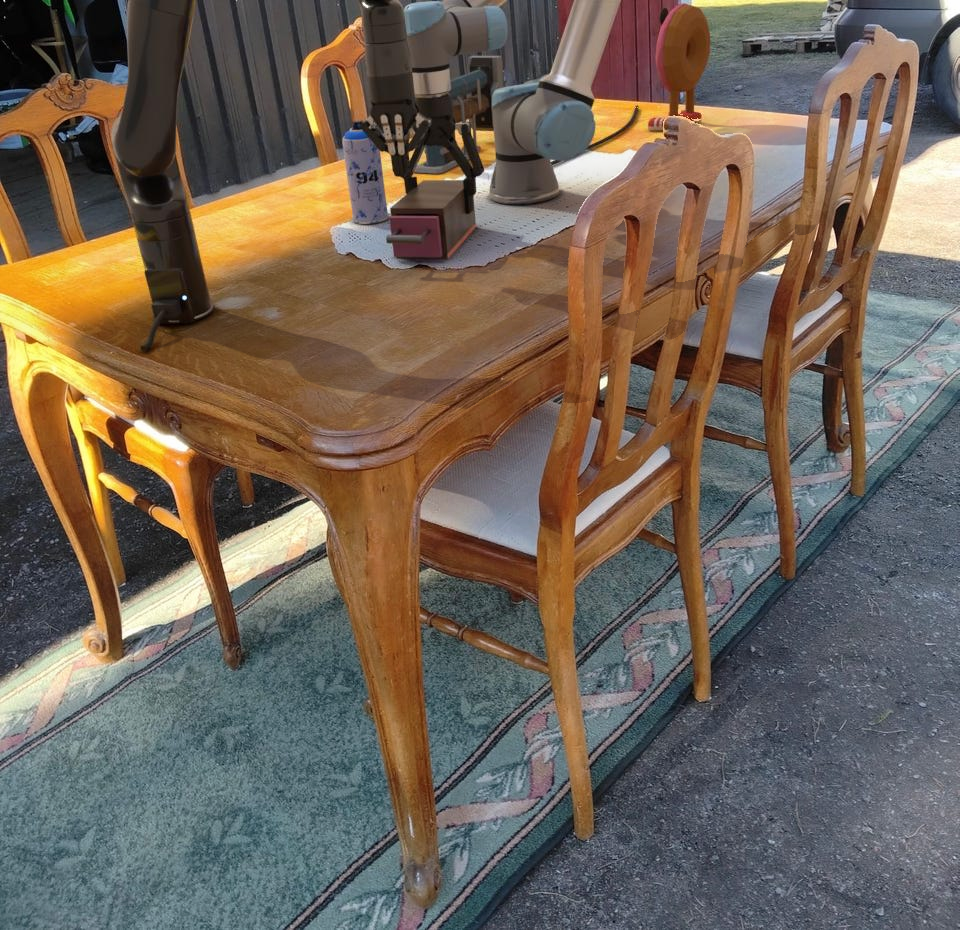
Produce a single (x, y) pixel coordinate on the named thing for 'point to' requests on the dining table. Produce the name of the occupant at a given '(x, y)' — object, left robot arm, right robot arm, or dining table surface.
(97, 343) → the dining table surface
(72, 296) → the dining table surface
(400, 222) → the drawer
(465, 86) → the clamp
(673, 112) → the toy
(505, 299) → the dining table surface
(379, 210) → the aerosol can
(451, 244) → the cabinet
